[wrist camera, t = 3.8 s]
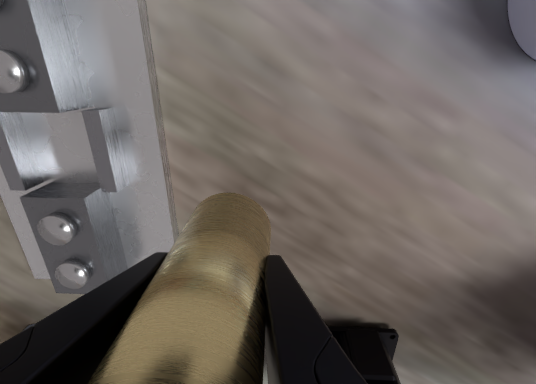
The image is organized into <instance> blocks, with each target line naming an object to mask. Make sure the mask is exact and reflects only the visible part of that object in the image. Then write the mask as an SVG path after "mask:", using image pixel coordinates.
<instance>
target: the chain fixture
mask: <svg viewBox="0 0 536 384" xmlns="http://www.w3.org/2000/svg"><path fill="white" fill-rule="evenodd" d="M0 195H1V198H2V200H3V203H4V205H5V207H6V210H7V212H8V215H9V217H10V219H11V222H12V224H13V227H14V229H15V232H16V234H17V236H18V239H19V241H20V244H21V246H22V249H23V251H24V253H25V256H26V258H27V261H28V263H29V266H30V268H31V270H32V273H33V275H34V278H35V279H51V281H52V283H53V286H54V288H55V291H56V293H70V294H86V293H88V292H90V291H91V290H93V289H95V288H96V287H98V286H100V285H102V284H103V283H105V282H107V281H108V280H110V279H112V278H113V277H115V276H117V275H118V274H120V273H122V272H123V271H125V270H127V269H129V268H130V267H132V266H134V265H135V264H137V263H139V262H140V261H142V260H144V259H145V258H147V257H149V256H150V255H152V254H154V253H156V252H169V251H170V249H171V248H172V246H173V245H174V243H175V241H176V240H177V238H178V236H179V234H178V227H177V220H176V213H175V206H174V199H173V192H172V185H171V179H170V172H169V165H168V158H167V151H166V144H165V137H164V130H163V123H162V116H161V109H160V102H159V95H158V88H157V81H156V74H155V67H154V60H153V53H152V46H151V39H150V32H149V25H148V18H147V11H146V4H145V0H0Z"/></svg>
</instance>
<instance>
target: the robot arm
mask: <svg viewBox="0 0 536 384" xmlns="http://www.w3.org/2000/svg"><path fill="white" fill-rule="evenodd" d="M168 253H169V252H156V253H154V254H152V255H150V256H149V257H147V258H145V259H144V260H142V261H140V262H139V263H137V264H135V265H134V266H132V267H130V268H129V269H127V270H125V271H123V272H122V273H120V274H118V275H117V276H115V277H113V278H112V279H110V280H108V281H107V282H105V283H103V284H102V285H100V286H98V287H96V288H95V289H93V290H91V291H90V292H88V293H86V294H85V295H83V296H81V297H80V298H78V299H76V300H75V301H73V302H71V303H69V304H68V305H66V306H64V307H63V308H61V309H59V310H58V311H56V312H54V313H53V314H51V315H49V316H48V317H46V318H44V319H42V320H41V321H39V322H37V323H36V324H35V325H34V326H30V327H29V328H27V329H25V330H24V331H22V332H20V333H19V334H17V335H15V336H14V337H12V338H10V339H8V340H7V341H5V342H3V343H2V344H0V384H88V382H89V381H90V379H91V377H92V376H93V374H94V372H95V371H96V369H97V368H98V366H99V364H100V363H101V361H102V359H103V358H104V356H105V355H106V353H107V351H108V350H109V348H110V347H111V345H112V343H113V342H114V340H115V338H116V337H117V335H118V334H119V332H120V330H121V329H122V327H123V325H124V324H125V322H126V321H127V319H128V317H129V316H130V314H131V313H132V311H133V309H134V308H135V306H136V304H137V303H138V301H139V300H140V298H141V296H142V295H143V293H144V291H145V290H146V288H147V287H148V285H149V283H150V282H151V280H152V279H153V277H154V275H155V274H156V272H157V270H158V269H159V267H160V266H161V264H162V262H163V261H164V259H165V257H166V256H167V254H168ZM264 290H265V307H266V329H265V348H266V361H267V374H268V384H401V383H400V380H399V378H398V375H397V373H396V370H395V368H394V365H393V363H392V360H393V356H394V352H395V348H396V345H397V341H398V334H397V331H396V330H394V329H381V328H353V327H327V326H326V324H325V322H324V321H323V319H322V318H321V316H320V315H319V313H318V312H317V310H316V309H315V307H314V306H313V304H312V303H311V301H310V300H309V298H308V297H307V295H306V294H305V292H304V291H303V289H302V288H301V286H300V285H299V283H298V282H297V280H296V279H295V277H294V275H293V274H292V272H291V271H290V269H289V268H288V266H287V265H286V263H285V262H284V260H283V259H282V257H281V256H280V255H268V256H267V257H266V268H265V281H264Z"/></svg>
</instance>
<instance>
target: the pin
mask: <svg viewBox="0 0 536 384" xmlns="http://www.w3.org/2000/svg"><path fill="white" fill-rule="evenodd" d="M270 237H271V226H270V221H269V219H268V216H267V214H266V213H265V211H264V210H263V208H262V207H261V206H260V205H259V204H257V203H256V202H255V201H253V200H252V199H250V198H248V197H246V196H243V195H240V194H236V193H220V194H216V195H212V196H210V197H208V198H206V199H205V200H203V201H202V202H201V203H200V204H199V205H198V206H197V207H196V209H195V211H194V212H193V214H192V215H191V217H190V219H189V220H188V222H187V223H186V225H185V227H184V228H183V230H182V232H181V233H180V235H179V236H178V238H177V240H176V241H175V243H174V245H173V246H172V248H171V249H170V251H169V253H168V254H167V256H166V257H165V259H164V261H163V262H162V264H161V266H160V267H159V269H158V270H157V272H156V274H155V275H154V277H153V279H152V280H151V282H150V283H149V285H148V287H147V288H146V290H145V291H144V293H143V295H142V296H141V298H140V300H139V301H138V303H137V304H136V306H135V308H134V309H133V311H132V313H131V314H130V316H129V317H128V319H127V321H126V322H125V324H124V325H123V327H122V329H121V330H120V332H119V334H118V335H117V337H116V338H115V340H114V342H113V343H112V345H111V347H110V348H109V350H108V351H107V353H106V355H105V356H104V358H103V359H102V361H101V363H100V364H99V366H98V368H97V369H96V371H95V372H94V374H93V376H92V377H91V379H90V381H89V382H88V384H263V366H264V348H265V329H266V307H265V290H264V281H265V268H266V257H267V256H268V255H270Z"/></svg>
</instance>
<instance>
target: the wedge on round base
mask: <svg viewBox="0 0 536 384" xmlns="http://www.w3.org/2000/svg"><path fill="white" fill-rule="evenodd" d="M508 17H509V22H510V27H511V30H512V32H513V35H514V37H515V39H516V41H517V43H518V44H519V46H520V47H521V48H522V49H523V50H524V52H525V53H526V54H528V55H529V56H530V57H532V58H533V59H535V60H536V0H508Z"/></svg>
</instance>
